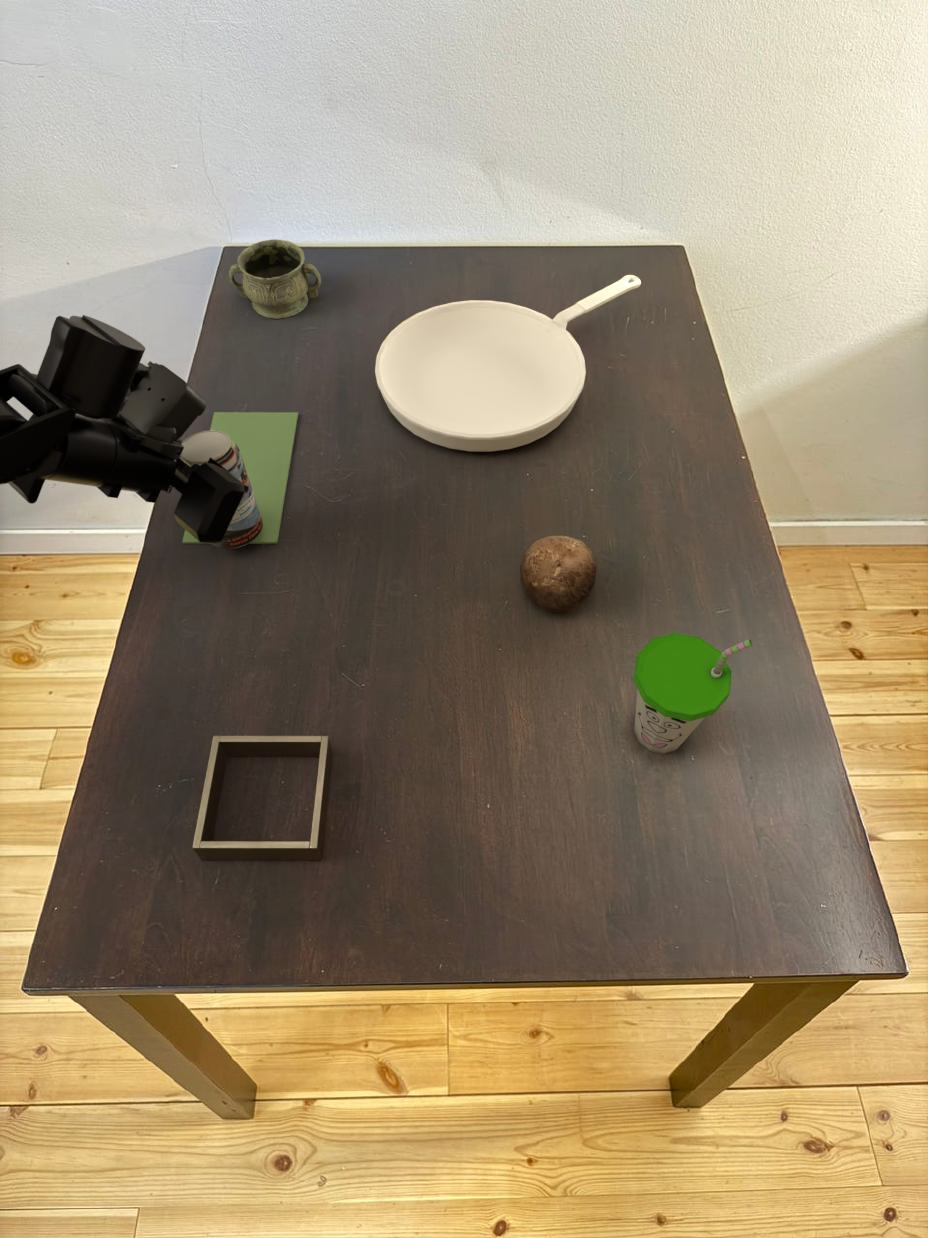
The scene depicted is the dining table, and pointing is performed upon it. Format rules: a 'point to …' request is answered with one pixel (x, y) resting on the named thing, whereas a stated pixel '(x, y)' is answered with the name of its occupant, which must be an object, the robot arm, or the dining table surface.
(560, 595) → the mushroom
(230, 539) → the beverage can
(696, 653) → the cup
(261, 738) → the frame
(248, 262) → the vessel
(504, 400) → the pan
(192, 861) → the dining table surface
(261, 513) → the green mat
